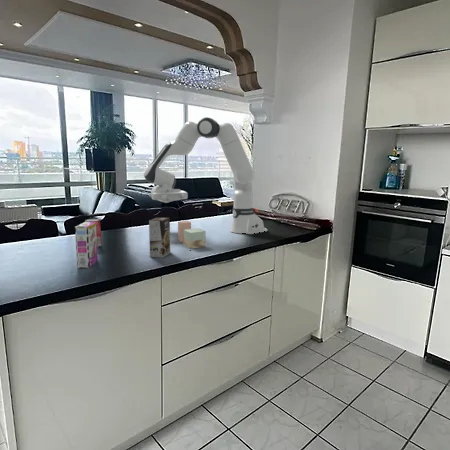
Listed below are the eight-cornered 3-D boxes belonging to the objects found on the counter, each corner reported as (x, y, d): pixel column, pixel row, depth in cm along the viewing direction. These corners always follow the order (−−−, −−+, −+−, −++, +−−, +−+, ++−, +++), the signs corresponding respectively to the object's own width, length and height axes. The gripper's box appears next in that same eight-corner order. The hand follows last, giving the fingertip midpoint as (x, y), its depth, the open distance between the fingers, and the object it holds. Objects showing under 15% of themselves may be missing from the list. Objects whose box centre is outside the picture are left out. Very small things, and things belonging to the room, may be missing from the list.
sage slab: (198, 236, 169) (198, 228, 168) (205, 239, 162) (205, 231, 162) (183, 237, 165) (183, 229, 164) (190, 241, 158) (190, 232, 158)
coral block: (187, 239, 178) (186, 220, 176) (191, 241, 174) (190, 222, 172) (178, 240, 175) (178, 221, 174) (182, 242, 171) (181, 223, 169)
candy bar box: (90, 268, 128) (87, 226, 125) (77, 268, 128) (73, 226, 125) (98, 260, 139) (96, 221, 136) (86, 260, 139) (83, 221, 136)
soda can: (105, 245, 164) (103, 219, 161) (94, 248, 157) (93, 221, 155) (93, 244, 166) (91, 218, 163) (82, 247, 159) (80, 220, 157)
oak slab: (198, 243, 170) (198, 236, 169) (205, 247, 163) (205, 239, 162) (183, 245, 166) (183, 237, 165) (190, 249, 159) (190, 241, 158)
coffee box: (163, 257, 143) (162, 220, 140) (149, 256, 145) (148, 220, 142) (171, 252, 152) (170, 217, 149) (157, 251, 153) (156, 216, 150)
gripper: (147, 189, 187) (156, 191, 175) (181, 188, 197) (191, 190, 185) (148, 200, 188) (156, 203, 176) (181, 199, 198) (191, 202, 186)
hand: (174, 197), depth 181 cm, fingers open, 8 cm apart
